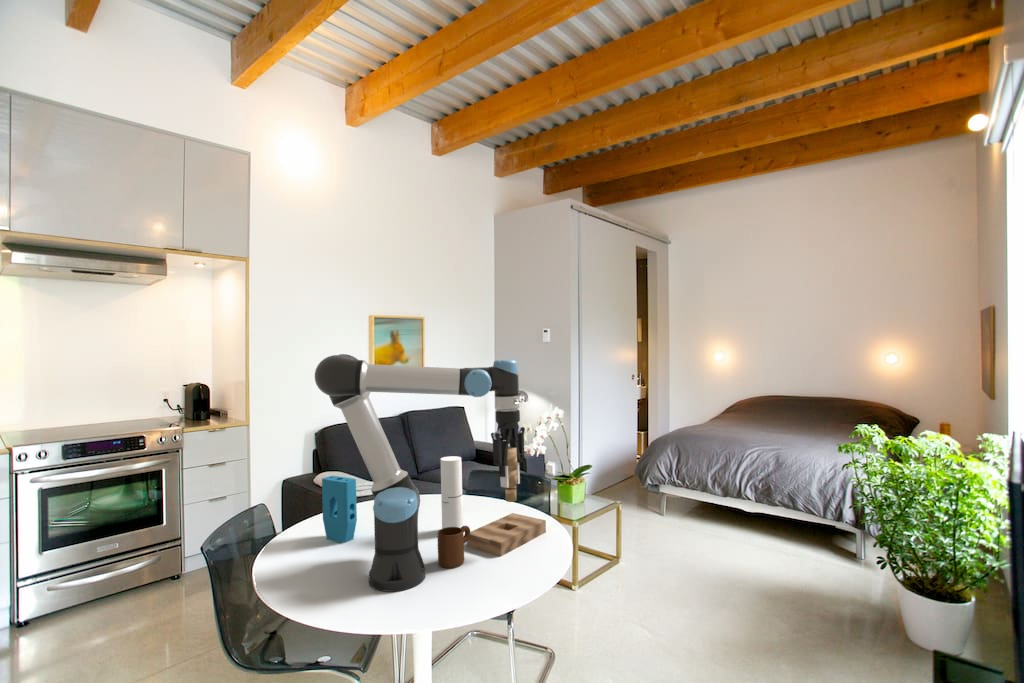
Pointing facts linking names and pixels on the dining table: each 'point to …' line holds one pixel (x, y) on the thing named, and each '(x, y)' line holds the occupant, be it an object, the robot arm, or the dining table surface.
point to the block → (339, 508)
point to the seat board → (506, 534)
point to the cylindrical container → (451, 492)
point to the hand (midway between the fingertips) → (510, 484)
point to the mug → (452, 546)
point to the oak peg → (511, 474)
